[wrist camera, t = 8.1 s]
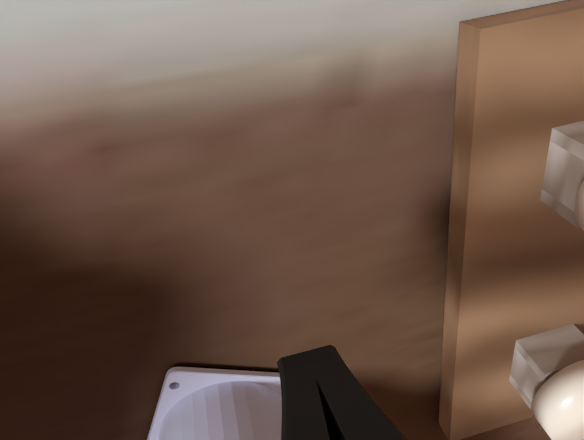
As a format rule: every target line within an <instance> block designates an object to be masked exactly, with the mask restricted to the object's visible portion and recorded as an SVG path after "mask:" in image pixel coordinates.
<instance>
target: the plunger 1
mask: <svg viewBox="0 0 584 440" xmlns="http://www.w3.org/2000/svg"><path fill="white" fill-rule="evenodd" d="M531 411H532V414H533V415H534V417H535V418H536V419H537V421H538V422H539V423H540V425H541V426H542V427H543V429H544V430H545V431H546V433H547V434H548V435H549V437H550V438H551V439H552V440H584V360H581V361H578V362H575V363H573V364H571V365H569V366H567V367H565V368H563V369H562V370H560V371H558V372H557V373H556V374H554V375H553V376H552V377H550V378H549V379H548V380H547V381H546V382H545V383H544V384H543V385H542V386H541V387H540V388H539V390H538V391H537V393H536V394H535V396H534V398H533V400H532V404H531Z"/></svg>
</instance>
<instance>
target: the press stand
mask: <svg viewBox="0 0 584 440" xmlns="http://www.w3.org/2000/svg"><path fill="white" fill-rule="evenodd" d="M583 180H584V0H566V1H561V2H556V3H551V4H546V5H541V6H536V7H531V8H526V9H521V10H516V11H511V12H506V13H501V14H496V15H491V16H486V17H481V18H476V19H471V20H466V21H461V22H460V23H459V42H458V61H457V80H456V99H455V118H454V138H453V157H452V176H451V195H450V214H449V233H448V253H447V272H446V291H445V310H444V329H443V348H442V368H441V387H440V406H439V425H440V427H441V429H442V430H443V432H444V434H445V436H446V438H447V439H448V440H461V439H464V438H467V437H470V436H474V435H477V434H480V433H483V432H487V431H490V430H493V429H496V428H499V427H503V426H506V425H509V424H512V423H516V422H519V421H522V420H525V419H528V418H532V417H534V415H533V414H532V411H531V404H532V400H533V398H534V396H535V394H536V393H537V391H538V390H539V388H540V387H541V386H542V385H543V384H544V383H545V382H546V381H547V380H548V379H549V378H550V377H552V376H553V375H554V374H556V373H557V372H558V371H560V370H562V369H563V368H565V367H567V366H569V365H571V364H573V363H575V362H578V361H581V360H584V231H583V230H582V229H581V228H580V226H579V225H578V223H577V220H576V216H575V202H576V198H577V194H578V191H579V189H580V186H581V184H582V182H583Z"/></svg>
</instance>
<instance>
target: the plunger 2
mask: <svg viewBox="0 0 584 440" xmlns="http://www.w3.org/2000/svg"><path fill="white" fill-rule="evenodd" d="M575 216H576V220H577V223H578V225H579V226H580V228H581V229H582V230H583V231H584V180H583V182H582V184H581V186H580V189H579V191H578V194H577V198H576V202H575Z"/></svg>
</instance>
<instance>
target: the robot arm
mask: <svg viewBox="0 0 584 440" xmlns="http://www.w3.org/2000/svg"><path fill="white" fill-rule="evenodd" d="M277 364H278V369H279V373H276V372H259V371H243V370H227V369H210V368H194V367H173V368H170V369H169V370H168V371H167V373H166V376H165V379H164V383H163V386H162V390H161V393H160V396H159V400H158V403H157V406H156V410H155V413H154V417H153V420H152V423H151V427H150V430H149V433H148V437H147V440H407V439H406V438H405V437H404V436H403V435H402V434H401V432H400V431H399V430H398V429H397V428H396V427H395V426H394V425H393V424H392V422H391V421H390V420H389V419H388V418H387V417H386V415H385V414H384V413H383V412H382V411H381V410H380V408H379V407H378V406H377V405H376V404H375V403H374V401H373V400H372V399H371V398H370V396H369V395H368V394H367V393H366V391H365V390H364V389H363V388H362V386H361V385H360V384H359V382H358V381H357V380H356V378H355V377H354V376H353V374H352V373H351V371H350V370H349V369H348V367H347V366H346V364H345V363H344V361H343V360H342V358H341V357H340V355H339V353H338V352H337V350H336V348H335V347H334V346H332V345H328V346H324V347H320V348H316V349H313V350H309V351H305V352H301V353H298V354H294V355H290V356H286V357H283V358H281V359H280V360H279V361H278V362H277ZM173 382H177V383H173Z"/></svg>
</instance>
